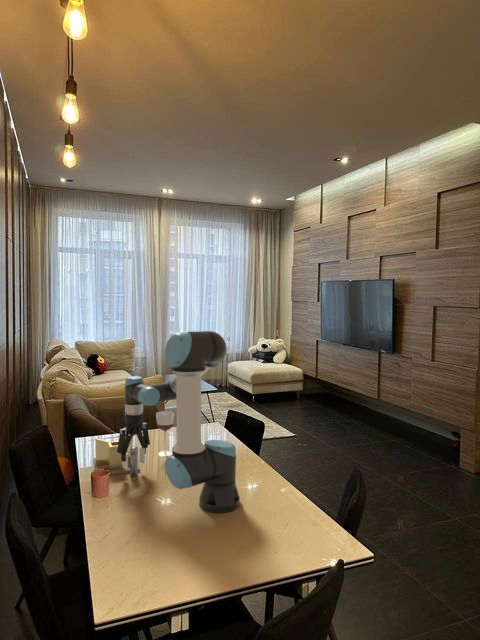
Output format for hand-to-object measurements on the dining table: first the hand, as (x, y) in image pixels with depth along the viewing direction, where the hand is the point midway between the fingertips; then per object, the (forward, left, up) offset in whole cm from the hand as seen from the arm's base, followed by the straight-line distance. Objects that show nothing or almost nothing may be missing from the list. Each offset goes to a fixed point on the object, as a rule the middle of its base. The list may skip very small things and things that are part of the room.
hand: (133, 465), depth 190 cm
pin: (0, 0, -4) cm, 4 cm away
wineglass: (+21, -18, -5) cm, 28 cm away
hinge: (+13, +6, -3) cm, 15 cm away
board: (+13, +6, -4) cm, 15 cm away
